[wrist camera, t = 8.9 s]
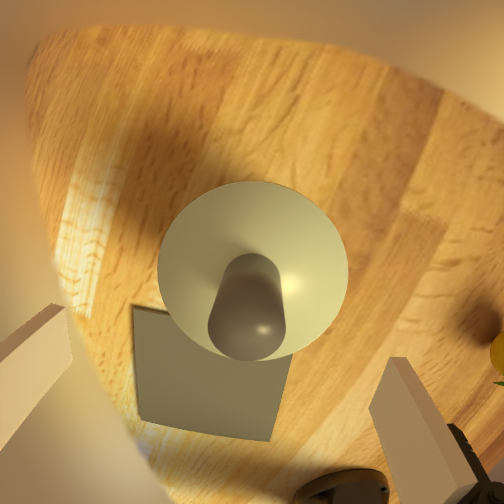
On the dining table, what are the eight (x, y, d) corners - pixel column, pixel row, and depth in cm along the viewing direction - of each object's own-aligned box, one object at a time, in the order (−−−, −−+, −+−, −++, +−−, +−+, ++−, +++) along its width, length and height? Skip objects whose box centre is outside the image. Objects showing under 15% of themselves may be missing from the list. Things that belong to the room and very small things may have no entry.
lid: (324, 360, 23) (341, 427, 16) (161, 340, 23) (129, 401, 16) (359, 195, 19) (405, 215, 12) (167, 171, 19) (119, 180, 13)
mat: (269, 438, 35) (269, 441, 35) (141, 417, 35) (140, 419, 35) (296, 332, 30) (297, 334, 30) (135, 306, 30) (133, 308, 30)
